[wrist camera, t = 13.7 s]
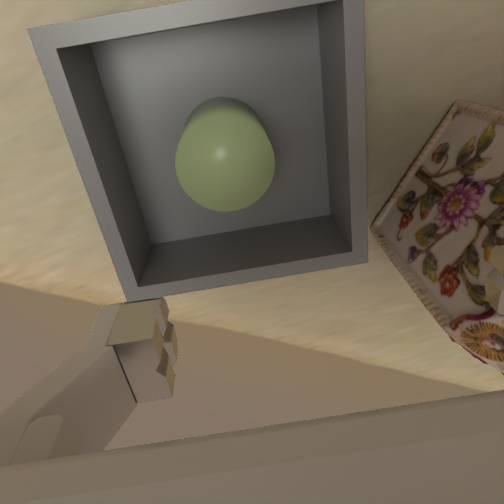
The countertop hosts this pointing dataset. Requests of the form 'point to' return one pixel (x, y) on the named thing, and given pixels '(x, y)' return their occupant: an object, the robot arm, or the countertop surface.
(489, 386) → the countertop surface
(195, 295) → the countertop surface
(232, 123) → the egg-shaped green gourd
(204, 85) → the grey bin
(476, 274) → the decorative jar
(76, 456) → the robot arm
